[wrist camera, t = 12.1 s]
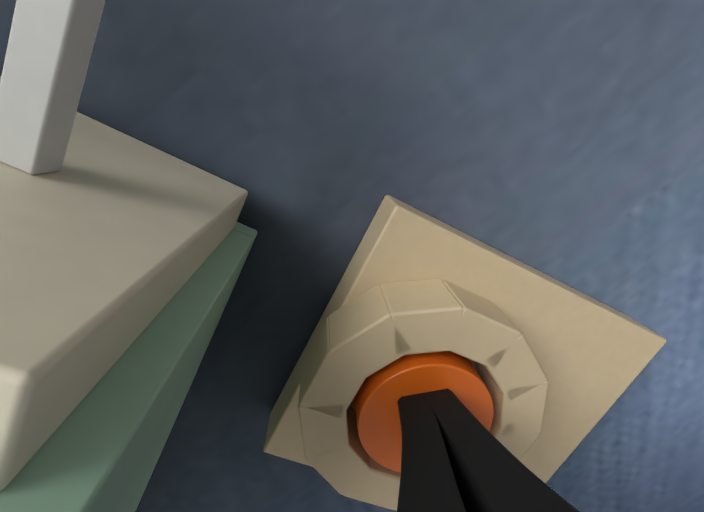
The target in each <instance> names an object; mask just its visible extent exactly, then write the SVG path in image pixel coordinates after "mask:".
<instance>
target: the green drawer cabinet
mask: <svg viewBox="0 0 704 512" xmlns="http://www.w3.org/2000/svg"><path fill="white" fill-rule="evenodd" d="M256 236H257V231H256V230H255V229H252V228H250V227H248V226H246V225H243V224H241V223H239V222H236V224H235V226H234V228H233V229H232V231H231V232H230V233H229V234H228V235H227V236H226V237H225V239H224V240H223V241H222V242H221V243H220V244H219V245H218V247H217V248H216V249H215V250H214V251H213V252H212V253H211V254H210V256H209V257H208V258H207V259H206V260H205V261H204V262H203V264H202V265H201V266H200V267H199V268H198V269H197V270H196V271H195V273H194V274H193V275H192V276H191V277H190V278H189V279H188V281H187V282H186V283H185V284H184V285H183V286H182V287H181V289H180V290H179V291H178V292H177V293H176V294H175V295H174V296H173V298H172V299H171V300H170V301H169V302H168V303H167V304H166V306H165V307H164V308H163V309H162V310H161V311H160V312H159V314H158V315H157V316H156V317H155V318H154V319H153V320H152V321H151V323H150V324H149V325H148V326H147V327H146V328H145V329H144V331H143V332H142V333H141V334H140V335H139V336H138V337H137V338H136V340H135V341H134V342H133V343H132V344H131V345H130V346H129V348H128V349H127V350H126V351H125V352H124V353H123V354H122V356H121V357H120V358H119V359H118V360H117V361H116V362H115V363H114V365H113V366H112V367H111V368H110V369H109V370H108V371H107V373H106V374H105V375H104V376H103V377H102V378H101V379H100V381H99V382H98V383H97V384H96V385H95V386H94V387H93V388H92V390H91V391H90V392H89V393H88V394H87V395H86V396H85V398H84V399H83V400H82V401H81V402H80V403H79V404H78V406H77V407H76V408H75V409H74V410H73V411H72V412H71V413H70V415H69V416H68V417H67V418H66V419H65V420H64V421H63V423H62V424H61V425H60V426H59V427H58V428H57V429H56V430H55V432H54V433H53V434H52V435H51V436H50V437H49V438H48V440H47V441H46V442H45V443H44V444H43V445H42V446H41V448H40V449H39V450H38V451H37V452H36V453H35V454H34V455H33V457H32V458H31V459H30V460H29V461H28V462H27V463H26V465H25V466H24V467H23V468H22V469H21V470H20V471H19V473H18V474H17V475H16V476H15V477H14V478H13V479H12V480H11V482H10V483H9V484H8V485H7V486H6V487H5V488H4V489H2V490H1V491H0V512H136V509H137V507H138V505H139V502H140V500H141V498H142V496H143V493H144V491H145V489H146V487H147V484H148V482H149V480H150V477H151V475H152V473H153V471H154V468H155V466H156V464H157V461H158V459H159V457H160V455H161V452H162V450H163V448H164V446H165V443H166V441H167V439H168V436H169V434H170V432H171V430H172V427H173V425H174V423H175V420H176V418H177V416H178V414H179V411H180V409H181V407H182V405H183V402H184V400H185V398H186V395H187V393H188V391H189V389H190V386H191V384H192V382H193V379H194V377H195V375H196V373H197V370H198V368H199V366H200V364H201V361H202V359H203V357H204V354H205V352H206V350H207V348H208V345H209V343H210V341H211V338H212V336H213V334H214V332H215V329H216V327H217V325H218V323H219V320H220V318H221V316H222V313H223V311H224V309H225V307H226V304H227V302H228V300H229V297H230V295H231V293H232V291H233V288H234V286H235V284H236V282H237V279H238V277H239V275H240V272H241V270H242V268H243V266H244V263H245V261H246V259H247V256H248V254H249V252H250V250H251V247H252V245H253V243H254V240H255V238H256Z"/></svg>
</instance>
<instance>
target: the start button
mask: <svg viewBox="0 0 704 512" xmlns="http://www.w3.org/2000/svg"><path fill="white" fill-rule="evenodd" d="M447 388H448V389H449V390H451V391H452V392H453V393H454V394H455V395H456V397H457V398H458V399H459V400H460V401H461V402H462V403H463V404H464V406H465V407H466V408H467V409H468V410H469V411H470V412H471V413H472V414H473V415H474V416H475V417H476V418H477V420H478V421H479V422H480V423H481V424H482V425H483V426H484V427H485V428H486V429H487V430H488V431H490V428H491V425H492V422H493V416H494V407H493V401H492V397H491V394H490V392H489V390H488V389H487V387H486V385H485V384H484V382H483V381H482V379H481V377H480V376H479V374H478V373H477V371H476V370H475V368H474V366H473V365H472V363H471V362H470V360H469V359H468V358H466V357H463V356H461V355H458V354H456V353H454V352H451V351H442V352H432V353H421V354H410V355H404V356H402V357H400V358H399V359H397V360H395V361H394V362H392V363H390V364H389V365H387V366H385V367H384V368H382V369H380V370H379V371H377V372H375V373H373V374H372V375H370V376H368V377H367V378H366V379H365V380H364V382H363V384H362V385H361V387H360V389H359V390H358V392H357V394H356V395H355V397H354V403H355V411H356V419H357V428H358V435H359V438H360V441H361V444H362V446H363V447H364V449H365V450H366V452H367V453H368V454H369V456H370V457H371V458H372V459H373V460H375V461H376V462H377V463H379V464H380V465H382V466H384V467H386V468H388V469H390V470H393V471H396V472H400V473H401V456H402V431H401V424H400V417H399V410H398V402H397V401H398V400H399V399H400V398H401V397H403V396H409V395H414V394H420V393H425V392H431V391H436V390H442V389H447Z"/></svg>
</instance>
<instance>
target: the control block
mask: <svg viewBox="0 0 704 512" xmlns="http://www.w3.org/2000/svg"><path fill="white" fill-rule="evenodd" d="M665 343H666V340H665V338H663V337H661V336H660V335H658V334H656V333H655V332H653V331H652V330H650V329H648V328H647V327H645V326H643V325H642V324H640V323H639V322H637V321H635V320H634V319H632V318H630V317H629V316H627V315H625V314H623V313H621V312H619V311H617V310H615V309H613V308H611V307H609V306H607V305H605V304H603V303H601V302H599V301H597V300H595V299H593V298H592V297H590V296H588V295H586V294H584V293H582V292H580V291H578V290H576V289H574V288H572V287H570V286H568V285H566V284H564V283H562V282H560V281H558V280H556V279H554V278H552V277H550V276H548V275H546V274H544V273H542V272H540V271H538V270H536V269H534V268H532V267H530V266H528V265H526V264H524V263H522V262H520V261H518V260H516V259H514V258H512V257H510V256H508V255H506V254H504V253H503V252H501V251H499V250H497V249H495V248H493V247H491V246H489V245H487V244H485V243H483V242H481V241H479V240H477V239H475V238H473V237H471V236H469V235H467V234H465V233H463V232H461V231H459V230H457V229H455V228H453V227H451V226H449V225H447V224H445V223H443V222H441V221H439V220H437V219H435V218H433V217H431V216H429V215H427V214H425V213H423V212H421V211H419V210H417V209H415V208H414V207H412V206H410V205H408V204H406V203H404V202H402V201H400V200H398V199H396V198H394V197H392V196H390V195H386V196H385V197H384V199H383V201H382V203H381V205H380V207H379V208H378V210H377V212H376V214H375V216H374V218H373V220H372V222H371V224H370V225H369V227H368V229H367V231H366V233H365V235H364V237H363V239H362V241H361V243H360V244H359V246H358V248H357V250H356V252H355V254H354V256H353V258H352V260H351V261H350V263H349V265H348V267H347V269H346V271H345V273H344V275H343V277H342V278H341V280H340V282H339V284H338V286H337V288H336V290H335V292H334V294H333V296H332V297H331V299H330V301H329V303H328V305H327V307H326V309H325V311H324V313H323V314H322V316H321V318H320V320H319V322H318V324H317V326H316V328H315V330H314V331H313V333H312V335H311V337H310V339H309V341H308V343H307V345H306V347H305V349H304V350H303V352H302V354H301V356H300V358H299V360H298V362H297V364H296V366H295V367H294V369H293V371H292V373H291V375H290V377H289V379H288V381H287V383H286V384H285V386H284V388H283V390H282V392H281V394H280V396H279V398H278V400H277V402H276V403H275V405H274V407H273V409H272V411H271V413H270V416H269V422H268V427H267V433H266V438H265V444H264V452H265V453H269V454H272V455H275V456H278V457H282V458H285V459H288V460H292V461H295V462H298V463H301V464H305V465H308V466H311V467H314V468H315V469H316V470H317V471H318V472H319V473H320V474H321V475H322V476H323V477H324V478H325V479H326V480H327V481H328V483H329V484H330V485H331V486H332V487H333V488H334V489H335V490H336V491H337V492H338V493H339V494H340V495H344V496H345V497H349V498H352V499H356V500H359V501H362V502H366V503H369V504H373V505H376V506H380V507H383V508H386V509H390V510H396V511H397V506H398V496H399V487H400V477H401V473H400V472H396V471H393V470H390V469H388V468H386V467H384V466H382V465H380V464H379V463H377V462H376V461H375V460H373V459H372V458H371V457H370V456H369V454H368V453H367V452H366V450H365V449H364V447H363V446H362V444H361V441H360V438H359V435H358V428H357V419H356V411H355V403H354V397H355V395H356V394H357V392H358V390H359V389H360V387H361V385H362V384H363V382H364V380H365V379H366V378H367V377H368V376H370V375H372V374H373V373H375V372H377V371H379V370H380V369H382V368H384V367H385V366H387V365H389V364H390V363H392V362H394V361H395V360H397V359H399V358H400V357H402V356H404V355H410V354H421V353H432V352H442V351H451V352H454V353H456V354H458V355H461V356H463V357H466V358H468V359H469V360H470V362H471V363H472V365H473V366H474V368H475V370H476V371H477V373H478V374H479V376H480V377H481V379H482V381H483V382H484V384H485V385H486V387H487V389H488V390H489V392H490V394H491V397H492V401H493V407H494V416H493V422H492V425H491V428H490V431H489V432H490V433H491V434H492V435H493V436H494V437H495V438H496V439H497V440H498V441H499V442H500V443H501V444H502V445H503V446H505V447H506V448H507V449H508V450H509V451H510V452H511V453H512V454H513V455H514V456H515V457H516V458H517V459H518V460H519V461H520V462H521V463H523V464H524V465H525V466H526V467H527V468H528V469H529V470H530V471H531V472H533V473H534V474H535V475H536V476H537V477H538V478H539V479H541V480H542V481H543V482H544V483H546V482H547V481H548V480H549V479H550V478H551V476H552V475H553V474H554V473H555V472H556V471H557V469H558V468H559V467H560V466H561V465H562V464H563V462H564V461H565V460H566V459H567V458H568V457H569V455H570V454H571V453H572V452H573V451H574V450H575V448H576V447H577V446H578V445H579V444H580V443H581V441H582V440H583V439H584V438H585V437H586V436H587V434H588V433H589V432H590V431H591V430H592V429H593V427H594V426H595V425H596V424H597V423H598V422H599V420H600V419H601V418H602V417H603V416H604V414H605V413H606V412H607V411H608V410H609V409H610V407H611V406H612V405H613V404H614V403H615V402H616V400H617V399H618V398H619V397H620V396H621V395H622V393H623V392H624V391H625V390H626V389H627V388H628V386H629V385H630V384H631V383H632V382H633V381H634V379H635V378H636V377H637V376H638V375H639V374H640V372H641V371H642V370H643V369H644V368H645V367H646V365H647V364H648V363H649V362H650V361H651V360H652V358H653V357H654V356H655V355H656V354H657V353H658V351H659V350H660V349H661V348H662V347H663V346H664V344H665Z"/></svg>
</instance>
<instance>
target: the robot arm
mask: <svg viewBox="0 0 704 512" xmlns="http://www.w3.org/2000/svg"><path fill="white" fill-rule="evenodd" d="M397 402H398V410H399V417H400V424H401V431H402V456H401V477H400V487H399V496H398V506H397V512H579V511H578V510H576V509H575V508H574V507H573V506H571V505H570V504H569V503H568V502H567V501H565V500H564V499H563V498H562V497H561V496H559V495H558V494H557V493H556V492H555V491H553V490H552V489H551V488H550V487H549V486H547V485H546V484H545V483H544V482H543V481H542V480H541V479H539V478H538V477H537V476H536V475H535V474H534V473H533V472H531V471H530V470H529V469H528V468H527V467H526V466H525V465H524V464H523V463H521V462H520V461H519V460H518V459H517V458H516V457H515V456H514V455H513V454H512V453H511V452H510V451H509V450H508V449H507V448H506V447H505V446H503V445H502V444H501V443H500V442H499V441H498V440H497V439H496V438H495V437H494V436H493V435H492V434H491V433H490V432H489V431H488V430H487V429H486V428H485V427H484V426H483V425H482V424H481V423H480V422H479V421H478V420H477V418H476V417H475V416H474V415H473V414H472V413H471V412H470V411H469V410H468V409H467V408H466V407H465V406H464V404H463V403H462V402H461V401H460V400H459V399H458V398H457V397H456V395H455V394H454V393H453V392H452V391H451V390H449V389H448V388H447V389H442V390H436V391H431V392H425V393H420V394H414V395H409V396H403V397H401V398H400V399H399V400H398V401H397Z"/></svg>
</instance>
